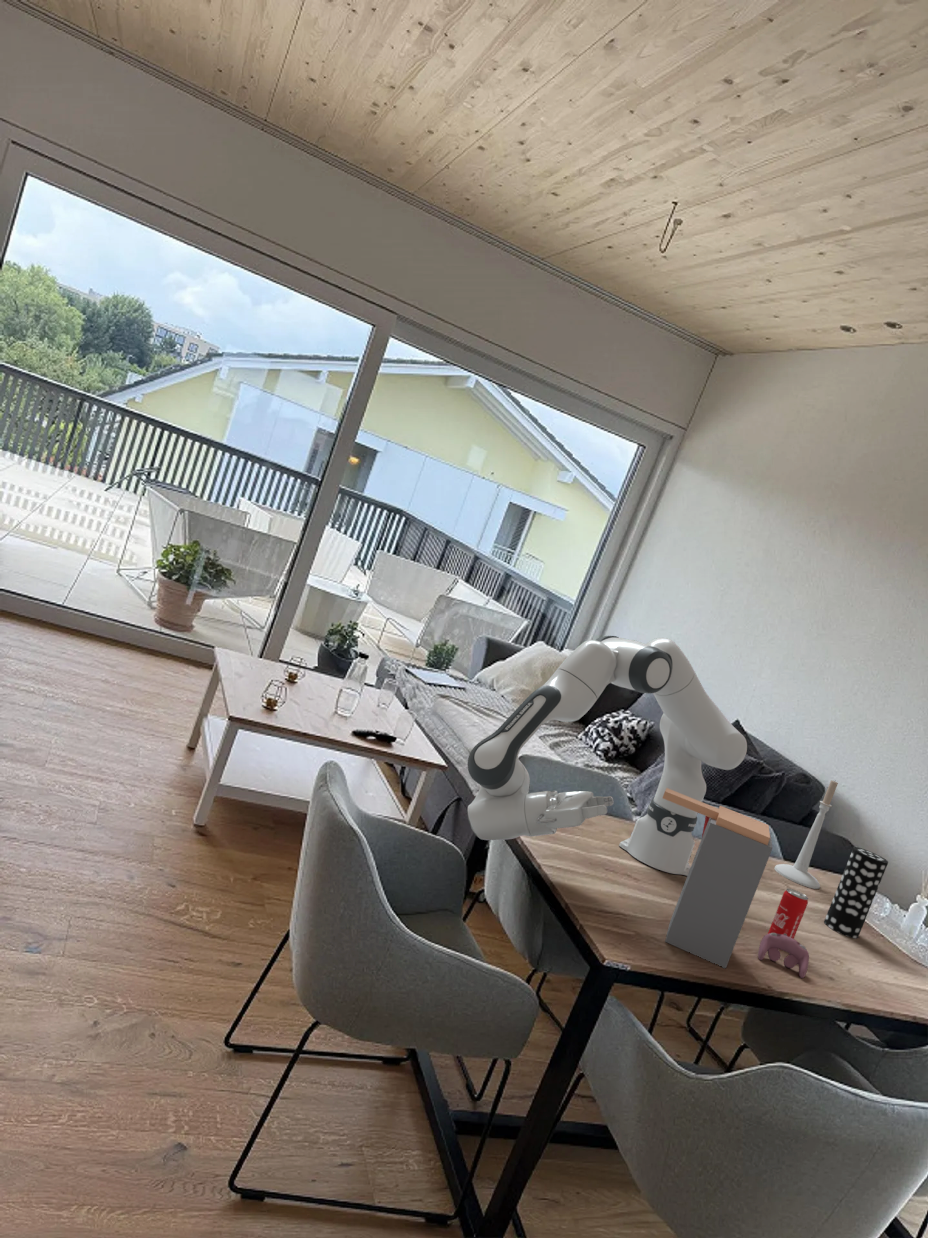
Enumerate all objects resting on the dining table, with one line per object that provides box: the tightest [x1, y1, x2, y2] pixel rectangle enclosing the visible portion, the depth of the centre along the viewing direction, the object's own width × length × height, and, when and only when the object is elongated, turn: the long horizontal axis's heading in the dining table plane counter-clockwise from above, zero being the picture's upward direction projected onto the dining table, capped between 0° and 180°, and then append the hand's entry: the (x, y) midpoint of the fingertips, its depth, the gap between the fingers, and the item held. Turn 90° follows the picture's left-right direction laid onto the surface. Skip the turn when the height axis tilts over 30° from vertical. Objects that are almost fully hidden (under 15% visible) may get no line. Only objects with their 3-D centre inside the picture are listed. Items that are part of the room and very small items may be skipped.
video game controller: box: [757, 933, 810, 979], centre depth 194 cm, size 10×5×7 cm, turn 71°
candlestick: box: [774, 780, 839, 890], centre depth 269 cm, size 13×13×30 cm
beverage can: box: [767, 887, 809, 939], centre depth 206 cm, size 5×5×12 cm
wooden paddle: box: [663, 788, 771, 845], centre depth 188 cm, size 12×21×2 cm, turn 72°
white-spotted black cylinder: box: [823, 846, 889, 939], centre depth 233 cm, size 8×8×20 cm
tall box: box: [665, 818, 774, 969], centre depth 188 cm, size 13×12×25 cm
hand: (609, 805), depth 194 cm, fingers open, 8 cm apart
